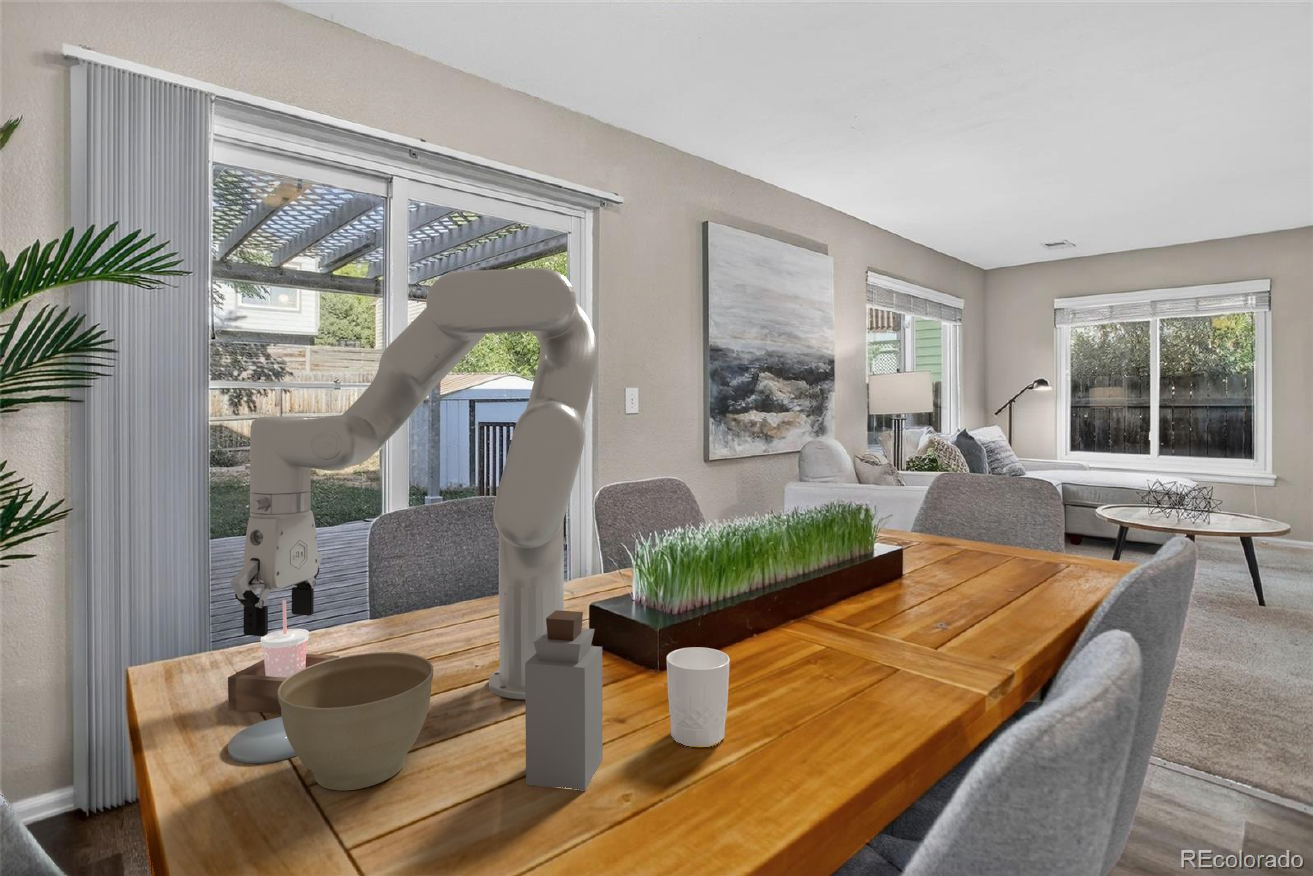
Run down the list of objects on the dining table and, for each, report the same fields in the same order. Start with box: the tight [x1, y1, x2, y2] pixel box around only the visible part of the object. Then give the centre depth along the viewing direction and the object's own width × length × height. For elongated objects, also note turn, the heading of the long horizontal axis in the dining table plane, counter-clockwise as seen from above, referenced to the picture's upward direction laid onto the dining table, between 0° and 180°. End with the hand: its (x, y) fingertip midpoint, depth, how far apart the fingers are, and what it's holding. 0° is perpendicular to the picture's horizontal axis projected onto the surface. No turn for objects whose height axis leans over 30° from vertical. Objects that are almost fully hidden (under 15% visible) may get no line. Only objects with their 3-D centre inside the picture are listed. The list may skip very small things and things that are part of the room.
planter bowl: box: [278, 651, 434, 791], centre depth 80 cm, size 16×16×11 cm
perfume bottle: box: [524, 610, 604, 792], centre depth 79 cm, size 7×7×18 cm
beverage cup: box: [260, 599, 310, 678], centre depth 100 cm, size 6×6×14 cm
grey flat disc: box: [227, 716, 298, 764], centre depth 87 cm, size 11×11×1 cm
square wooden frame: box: [227, 653, 340, 715], centre depth 100 cm, size 10×10×4 cm
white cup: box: [666, 646, 731, 747], centre depth 88 cm, size 8×8×10 cm
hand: (280, 624), depth 99 cm, fingers open, 9 cm apart
